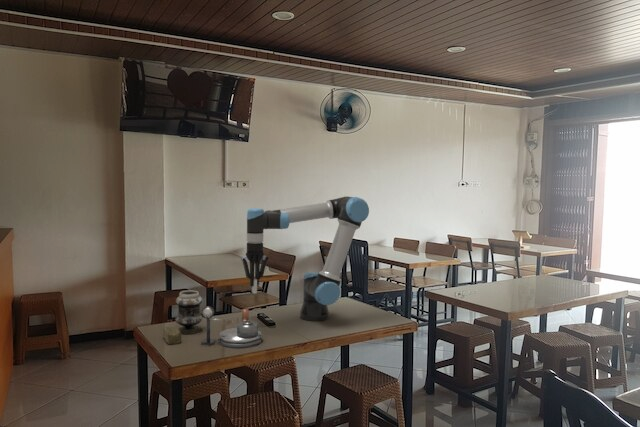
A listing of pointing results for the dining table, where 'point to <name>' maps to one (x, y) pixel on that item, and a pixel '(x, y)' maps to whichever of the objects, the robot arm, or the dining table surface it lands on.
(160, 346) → the dining table surface
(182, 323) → the apothecary jar
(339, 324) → the dining table surface
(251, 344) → the turntable base
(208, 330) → the dial gauge stand
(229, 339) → the turntable
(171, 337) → the stone block
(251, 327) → the cover
